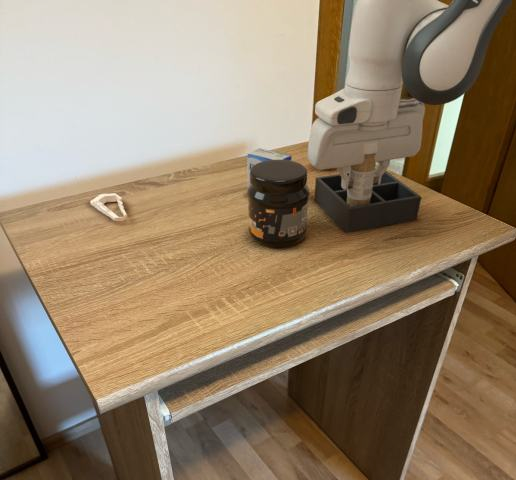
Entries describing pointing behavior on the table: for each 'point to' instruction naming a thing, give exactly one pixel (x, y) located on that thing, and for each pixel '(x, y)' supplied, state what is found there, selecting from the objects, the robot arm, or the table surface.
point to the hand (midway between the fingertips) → (360, 186)
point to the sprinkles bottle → (363, 177)
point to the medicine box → (263, 158)
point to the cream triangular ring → (99, 205)
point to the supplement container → (278, 203)
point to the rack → (370, 215)
